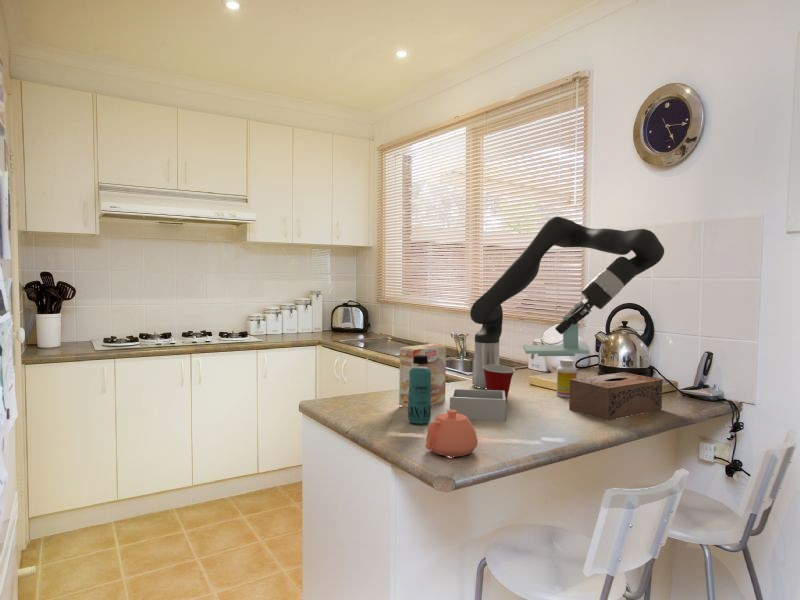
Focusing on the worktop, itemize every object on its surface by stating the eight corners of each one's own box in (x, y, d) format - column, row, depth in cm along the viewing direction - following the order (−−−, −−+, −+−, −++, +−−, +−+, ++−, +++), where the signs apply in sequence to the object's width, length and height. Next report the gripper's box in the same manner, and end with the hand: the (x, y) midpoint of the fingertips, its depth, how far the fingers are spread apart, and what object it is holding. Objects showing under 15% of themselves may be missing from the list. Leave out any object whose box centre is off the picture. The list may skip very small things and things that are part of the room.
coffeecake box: (413, 411, 164) (413, 349, 163) (398, 407, 169) (398, 346, 168) (446, 404, 174) (447, 345, 173) (431, 399, 179) (431, 343, 178)
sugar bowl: (488, 454, 126) (488, 412, 125) (443, 466, 118) (443, 421, 117) (454, 440, 136) (454, 401, 135) (410, 451, 127) (410, 409, 127)
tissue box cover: (622, 401, 180) (623, 372, 180) (661, 410, 168) (662, 379, 167) (569, 410, 168) (569, 379, 167) (607, 421, 155) (607, 388, 155)
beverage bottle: (404, 423, 150) (404, 354, 149) (425, 421, 153) (425, 353, 152) (413, 430, 144) (414, 357, 143) (435, 427, 147) (436, 356, 146)
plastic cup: (508, 408, 169) (508, 371, 168) (476, 403, 174) (477, 367, 174) (519, 401, 178) (519, 366, 177) (489, 397, 184) (489, 362, 183)
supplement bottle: (577, 398, 182) (578, 361, 181) (557, 397, 183) (558, 361, 183) (574, 394, 189) (575, 358, 188) (555, 393, 190) (556, 358, 189)
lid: (526, 357, 148) (525, 318, 147) (523, 350, 160) (522, 315, 160) (589, 357, 145) (588, 317, 144) (581, 350, 157) (581, 314, 157)
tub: (449, 421, 153) (449, 397, 153) (452, 410, 165) (452, 388, 165) (505, 424, 151) (505, 399, 150) (504, 413, 163) (504, 390, 162)
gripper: (588, 279, 156) (546, 320, 159) (597, 279, 143) (551, 324, 146) (607, 297, 156) (564, 338, 158) (618, 299, 142) (570, 343, 145)
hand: (558, 331), depth 152 cm, fingers closed on lid, 1 cm apart
